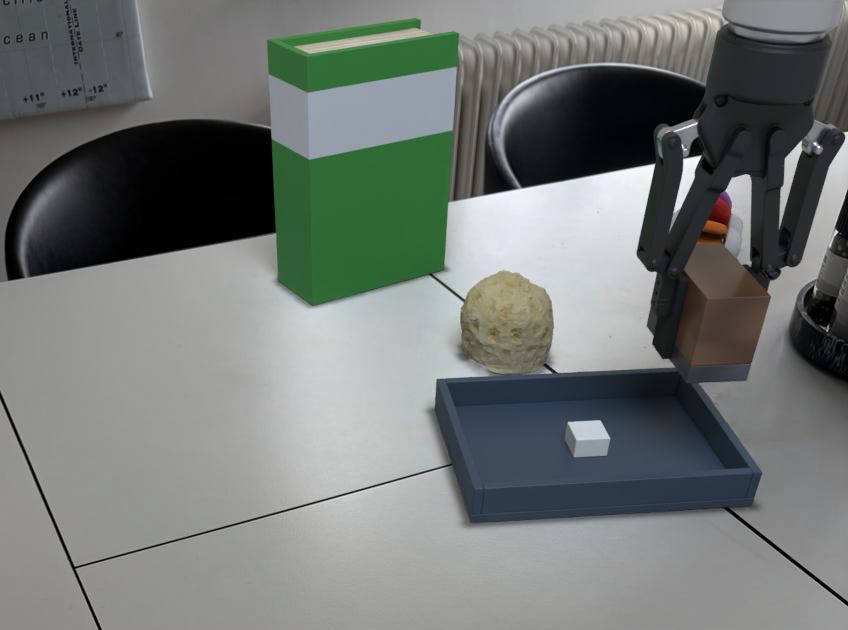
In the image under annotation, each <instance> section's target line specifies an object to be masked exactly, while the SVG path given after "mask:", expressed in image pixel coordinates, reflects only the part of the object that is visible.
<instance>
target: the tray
mask: <svg viewBox="0 0 848 630" xmlns="http://www.w3.org/2000/svg"><path fill="white" fill-rule="evenodd" d="M434 413H435V416H436V419H437V422H438V425H439V428H440V432H441V435H442V438H443V441H444V444H445V447H446V450H447V453H448V456H449V459H450V463H451V466H452V469H453V472H454V475H455V478H456V482H457V485H458V487H459V490H460V493H461V497H462V500H463V502H464V505H465V509H466V512H467V516H468V519H469V521H470V523H471V524H477V523H494V522H508V521H509V522H510V521H524V520H525V521H527V520H541V519H556V518H557V519H559V518H560V519H561V518H573V517H575V518H577V517H591V516H592V517H593V516H605V515H622V514H624V515H625V514H639V513H657V512H671V511H672V512H673V511H674V512H675V511H689V510H704V509H705V510H706V509H721V508H737V507H738V508H739V507H752V506H753V504H754V501H755V497H756V494H757V492H758V488H759V485H760V482H761V478H762V476H763V471H762V469H761V468H760V467H759V465H758V464H757V462H756V461H755V460H754V458H753V457H752V455H751V454H750V453H749V450H747V448H746V447H745V446H744V443H742V441H741V439H740V438H739V437H738V436H737V434H736V433H735V431H734V430H733V429H732V427H731V426H730V424H729V423H728V422H727V420H726V419H725V418H724V416H723V415H722V414H721V412H720V410H719V409H718V408H717V406H716V405H715V403H714V401H712V399H711V398H710V396H709V395H708V394H707V392H706V390H705V389H704V388H703V387H702V385H701V383H686V382H685V381H684V380H683V378H682V377H681V375H680V374H679V372H678V371H677V369H676V368H675V367H658V368H657V367H655V368H633V369H631V368H630V369H612V370H609V369H608V370H593V371H590V370H589V371H570V372H569V371H568V372H551V373H550V372H548V373H547V372H546V373H528V374H525V373H524V374H502V375H486V376H484V375H483V376H466V377H465V376H463V377H461V376H460V377H445V378H436V383H435V397H434ZM595 420H601V422H602V424H603V426H604V427H605V429H606V431H607V433H608V435H609V437H610V443H609V448H608V453H607V456H594V457H576V458H574V457H573V455H572V453H571V451H570V449H569V447H568V445H567V443H566V441H565V434H566V428H567V422H575V421H595Z"/></svg>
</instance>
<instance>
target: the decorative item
mask: <svg viewBox="0 0 848 630" xmlns="http://www.w3.org/2000/svg"><path fill="white" fill-rule="evenodd" d="M552 302H553V301H552V300H551V297H550V295H549V294H548V292H547V289H546V288H544V287H542V286H539V285H538V284H535V283H533V282H531V281H530V279H528V278H527V277H524V276H523V275H522V274H520V273H519V272H516V271H515V272H511V271H509V270H504V269H503V270H502V269H501V270H500V271H498V272H496V273H494V274H491V275H489V276H487V277H484V278H483V279H481V280H480V281H478V282H477V283H476V284H474V286H472V287H471V288H470V289H469V290H468V291H467V293H466V295H465V298H464V302H463V304H462V306H461V307H460V316H459V324H460V330H461V335H460V336H461V342H462V347H463V353H464V357H465V358H470V359H471V360H472V361H474V362H475V363H477V364H480V365H482V366H484V367H485V369H486V370H487V371H490V372H492V373H495V374H500V375H518V374H523V373H524V374H525V373H531V372H537V371H538V370H540V369H541V367H543V366H544V365H545V364H546V362H547V359H548V356H549V353H550V350H551V347H552V345H553V340H554V339H553V337H554V328H555V323H554V319H555V318H554V309H553V303H552Z"/></svg>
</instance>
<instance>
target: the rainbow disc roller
mask: <svg viewBox="0 0 848 630" xmlns="http://www.w3.org/2000/svg"><path fill="white" fill-rule="evenodd" d="M732 208H733V202H732V199H731V196H730V194H729V193H728V192H727V190H725V191H724V192H723V193H721V194H720V196H719V198H718V200H717V202H716V204H715V206H714V208H713V210H712V212H711V214H710V216H709V219H708V221H707V223H706V225H705V227H704V229H703V231H702V233H701V235H700V237H699V239H698V241H697V243H696V244H719V243H722V244H723V245H724V246H725V247H726V248H727V249H728V250H729V251H730V252H731V253H732V254H733V256H734V257H735V258H736V259H737V257H738V256H739V253H740V250H741V246H742V243H743V237H742V234H743V230H744V222H743V221H742V219H741V217H740V216H739V215H737V214H735V213H732ZM679 211H680V209H678V210H676V211H674V213H673V217H672V221H671V226H670V230H671V228H672V226H673V224H674V221H675V219H676V217H677V215H678V213H679ZM670 230H669V232H670Z"/></svg>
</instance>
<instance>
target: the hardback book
mask: <svg viewBox="0 0 848 630" xmlns="http://www.w3.org/2000/svg"><path fill="white" fill-rule="evenodd" d="M421 23H422V19H420V18H417V17H412V18H407V19H399V20H393V21H385V22H378V23H372V24H364V25H358V26H357V25H356V26H352V27H344V28H338V29H330V30H325V31H317V32H310V33H302V34H296V35H290V36H282V37H276V38H269V39H266V46H267V47H266V48H267V49H266V50H267V69H268V72H267V73H268V91H269V92H268V93H269V111H270V112H269V113H270V114H269V115H270V134H271V135H270V137H271V154H272V155H271V156H272V175H273V176H272V178H273V198H274V219H275V220H274V221H275V239H276V240H275V241H276V262H277V281H278V283H280V284H282V285H283V286H284V287H286V288H287V289H288V290H290V291H291V292H293V293H294V294H296V295H297V296H299V297H300V298H301V299H303V300H304V301H306V302H307V303H308V304H310V305H311V306H312V307H314V306H317V305H321V304H324V303H328V302H331V301H335V300H339V299H342V298H346V297H350V296H353V295H357V294H361V293H365V292H368V291H372V290H376V289H379V288H383V287H386V286H391V285H394V284H397V283H402V282H405V281H409V280H411V279H416V278H419V277H423V276H426V275H430V274H434V273H437V272H440V271H444V270H445V261H446V260H445V259H446V246H447V245H446V244H447V232H448V231H447V228H448V216H449V214H448V211H449V199H450V197H449V196H450V182H451V168H452V151H453V138H454V137H453V136H454V135H453V134H454V123H455V105H456V88H457V74H458V58H459V42H460V39H459V38H460V33H459V32H457V31H454V30H452V31H447V32H440V33H439V32H438V33H431V32H429V31H425V30H423V29H421Z"/></svg>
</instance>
